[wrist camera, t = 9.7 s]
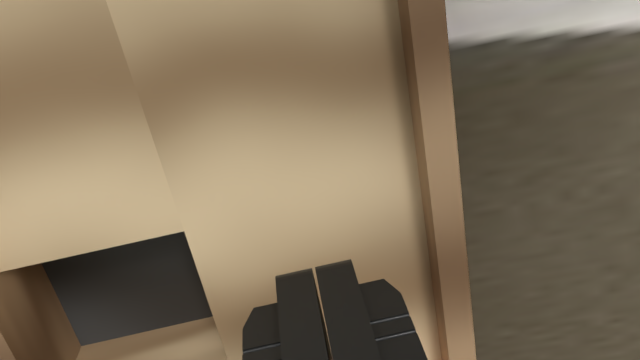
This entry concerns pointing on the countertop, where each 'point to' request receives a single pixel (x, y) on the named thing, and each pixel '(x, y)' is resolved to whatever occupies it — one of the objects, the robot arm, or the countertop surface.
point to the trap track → (221, 169)
